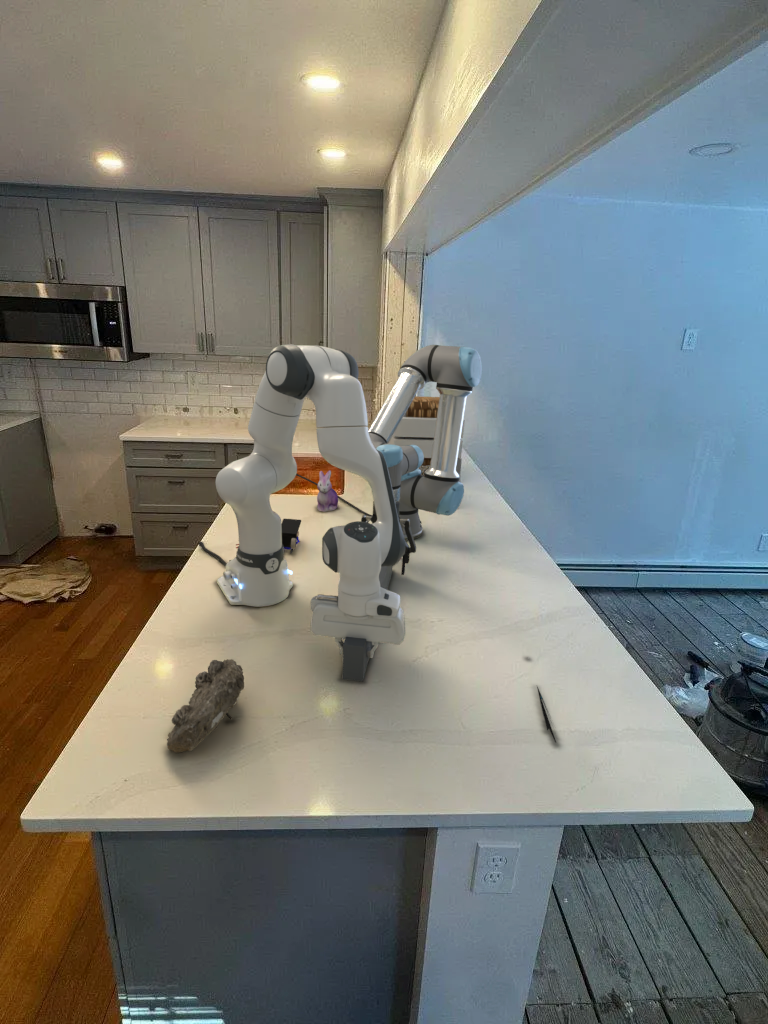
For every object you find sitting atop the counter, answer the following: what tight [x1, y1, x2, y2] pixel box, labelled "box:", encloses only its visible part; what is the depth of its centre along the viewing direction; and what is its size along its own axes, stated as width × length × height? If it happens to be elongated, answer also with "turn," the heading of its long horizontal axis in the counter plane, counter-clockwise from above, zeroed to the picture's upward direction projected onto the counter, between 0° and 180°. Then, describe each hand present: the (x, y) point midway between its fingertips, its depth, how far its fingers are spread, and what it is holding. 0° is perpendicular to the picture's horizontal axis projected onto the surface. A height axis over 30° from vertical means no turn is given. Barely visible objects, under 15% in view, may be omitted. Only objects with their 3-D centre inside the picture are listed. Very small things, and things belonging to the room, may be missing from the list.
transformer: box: [388, 396, 465, 482], centre depth 268 cm, size 34×33×41 cm
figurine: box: [316, 469, 339, 512], centre depth 219 cm, size 9×10×15 cm
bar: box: [341, 566, 394, 682], centre depth 145 cm, size 55×4×9 cm, turn 173°
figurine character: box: [281, 518, 302, 554], centre depth 184 cm, size 7×8×15 cm
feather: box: [527, 657, 557, 743], centre depth 118 cm, size 2×28×2 cm
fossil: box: [166, 658, 245, 754], centre depth 106 cm, size 22×10×15 cm
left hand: (357, 654), depth 124 cm, fingers closed on bar, 4 cm apart
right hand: (383, 571), depth 167 cm, fingers open, 11 cm apart
